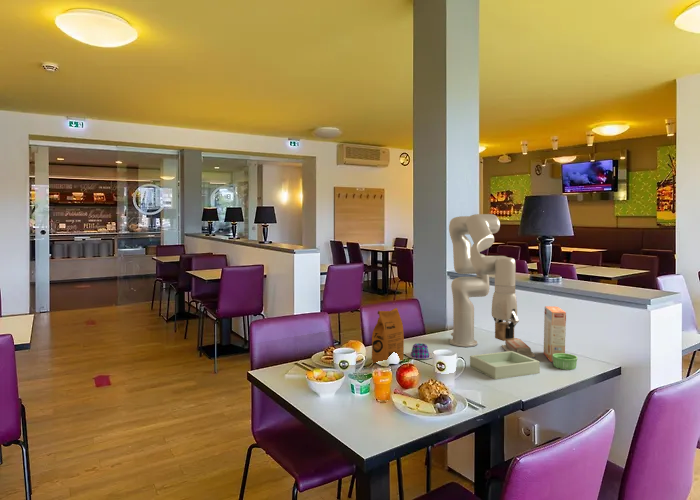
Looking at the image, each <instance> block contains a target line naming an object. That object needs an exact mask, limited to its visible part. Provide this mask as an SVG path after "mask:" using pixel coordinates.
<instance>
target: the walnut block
mask: <svg viewBox="0 0 700 500" xmlns="http://www.w3.org/2000/svg"><path fill="white" fill-rule="evenodd" d="M510 323H511V322H509V324H510ZM506 328H507V326H506V321H503V322H499V323H495V322H494V339H496V340H499V341H501V342H502V341H503V342H505V341H508V340H514V338H515V328H513V338H511V339H506Z"/></svg>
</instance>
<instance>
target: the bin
mask: <svg viewBox="0 0 700 500" xmlns="http://www.w3.org/2000/svg"><path fill="white" fill-rule="evenodd" d="M540 363H541V362H540V361H539V360H537V359H535V358H532V357H527V356H524V355H521V354H519V353H516V352H513V351H506V350H505V351H500V352H491V353H483V354H475V355H474V354H473V355H470V356H469V367H470V368H471V369H474V370H476V371H478V372H479V373H482V374H484V375H485V376H488V377H490V379H491V378H492V379H494V380H501V379H509V378H515V377H516V378H517V377H521V376H523V377H524V376H529V375H535V374H540V372H541V371H540V370H541V365H540Z"/></svg>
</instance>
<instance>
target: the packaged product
mask: <svg viewBox="0 0 700 500" xmlns="http://www.w3.org/2000/svg"><path fill="white" fill-rule="evenodd" d="M501 347H502V349H504V350H505V352H506V351H513V352H516V353H519V354H521V355H524V356H527V357H529V358H532V357H535V358H536V354H535V353H534V352H532V349H531V347H530V346H528V345H527V344H526V343H525V342H524V341H523V340H521V338H517V337H514V340H508V341H504V344H501Z"/></svg>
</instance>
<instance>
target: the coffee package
mask: <svg viewBox="0 0 700 500" xmlns="http://www.w3.org/2000/svg"><path fill="white" fill-rule="evenodd" d="M377 315H378V316H379V317H378V318H377V321H376V324H375V326H374V328H373V331H372V335H371V361H372V364H374V363H376V362H378V361H383V360H387V359H388V357H389V356H390V355H391V354H392V353H393V352H395V353H397V354H398V356H399V358H400V360H403V359H404V348H405V346H404V345H405V338H404V336H405V334H404V325H403V321H402V317H401V315H400V311H399V310H398V307H395V308H393V309H391V310H378V311H377ZM403 361H404V360H403Z"/></svg>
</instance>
